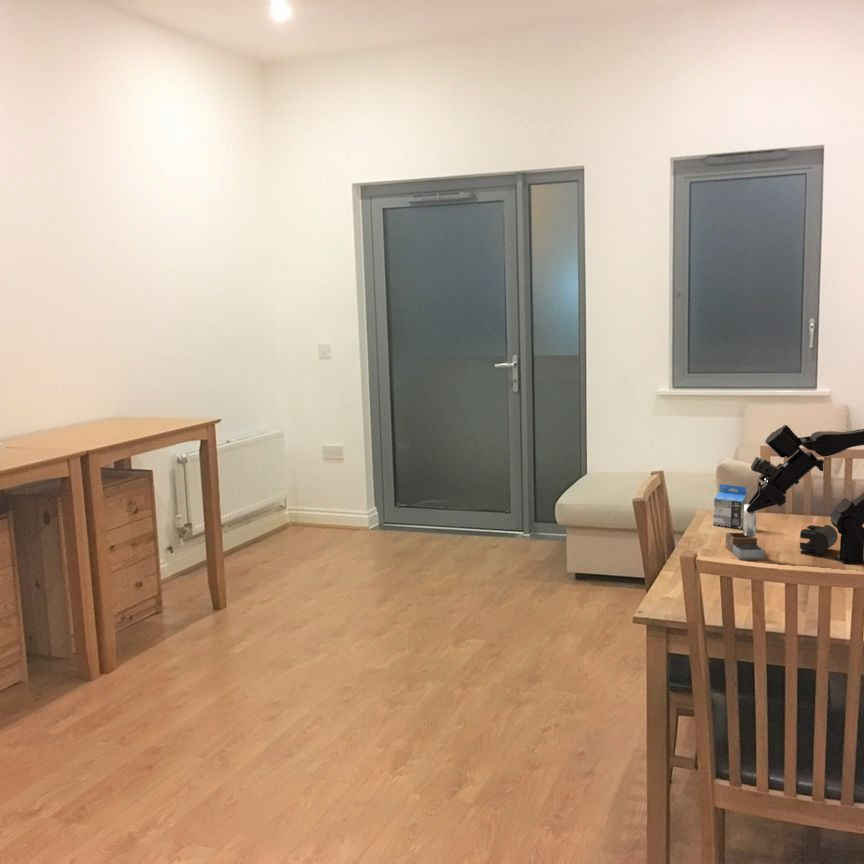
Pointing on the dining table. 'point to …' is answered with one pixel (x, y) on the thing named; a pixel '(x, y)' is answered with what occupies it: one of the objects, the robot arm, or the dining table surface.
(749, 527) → the axle pin
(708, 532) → the dining table surface
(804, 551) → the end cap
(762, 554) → the tray
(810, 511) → the dining table surface
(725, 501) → the label tape box
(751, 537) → the bore block
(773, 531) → the dining table surface
